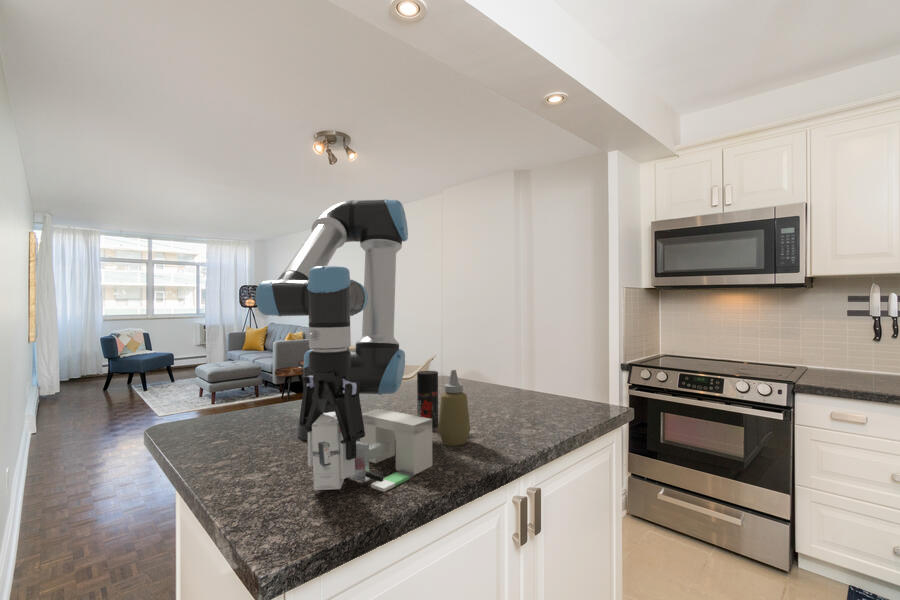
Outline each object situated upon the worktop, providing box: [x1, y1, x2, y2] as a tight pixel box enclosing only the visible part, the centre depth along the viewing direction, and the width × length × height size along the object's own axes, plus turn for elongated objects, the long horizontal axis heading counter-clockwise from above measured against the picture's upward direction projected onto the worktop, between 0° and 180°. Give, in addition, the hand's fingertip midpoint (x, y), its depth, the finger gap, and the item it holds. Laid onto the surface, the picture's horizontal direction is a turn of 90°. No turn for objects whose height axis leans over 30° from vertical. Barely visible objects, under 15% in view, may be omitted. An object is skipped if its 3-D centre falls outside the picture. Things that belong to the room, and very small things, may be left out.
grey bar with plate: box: [349, 440, 389, 483], centre depth 87 cm, size 12×10×7 cm
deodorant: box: [416, 370, 439, 429], centre depth 122 cm, size 6×6×15 cm
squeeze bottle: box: [437, 369, 471, 447], centre depth 107 cm, size 8×8×18 cm
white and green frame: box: [359, 408, 433, 493], centre depth 90 cm, size 16×15×10 cm
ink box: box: [312, 412, 345, 491], centre depth 80 cm, size 9×5×12 cm, turn 4°
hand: (330, 470), depth 80 cm, fingers closed on ink box, 9 cm apart
